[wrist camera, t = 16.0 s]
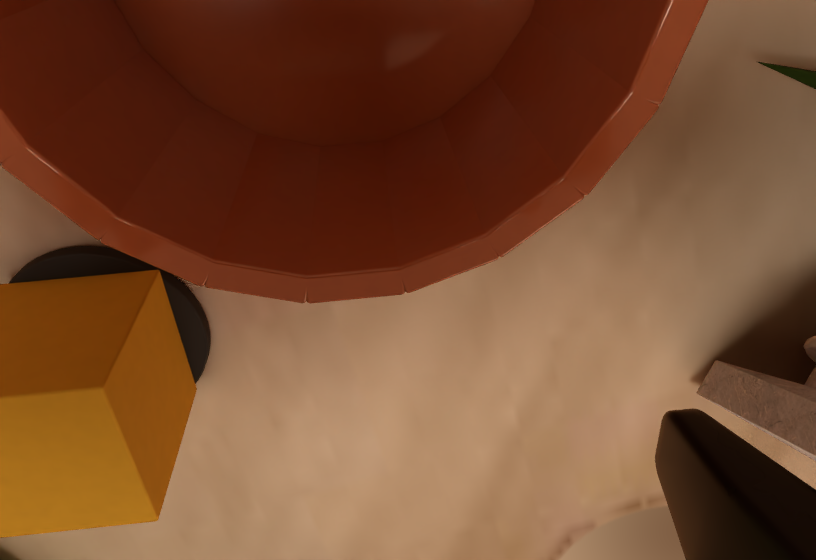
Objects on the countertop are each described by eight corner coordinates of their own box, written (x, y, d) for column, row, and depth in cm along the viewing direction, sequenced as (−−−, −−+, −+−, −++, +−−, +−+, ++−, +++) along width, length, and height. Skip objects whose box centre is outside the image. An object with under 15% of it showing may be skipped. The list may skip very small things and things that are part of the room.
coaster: (183, 235, 18) (179, 244, 18) (229, 395, 21) (226, 405, 21) (-33, 255, 18) (-42, 264, 18) (45, 413, 21) (39, 424, 21)
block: (159, 268, 18) (102, 387, 14) (197, 388, 20) (158, 522, 16) (-4, 283, 18) (-112, 408, 14) (54, 403, 20) (-23, 541, 16)
